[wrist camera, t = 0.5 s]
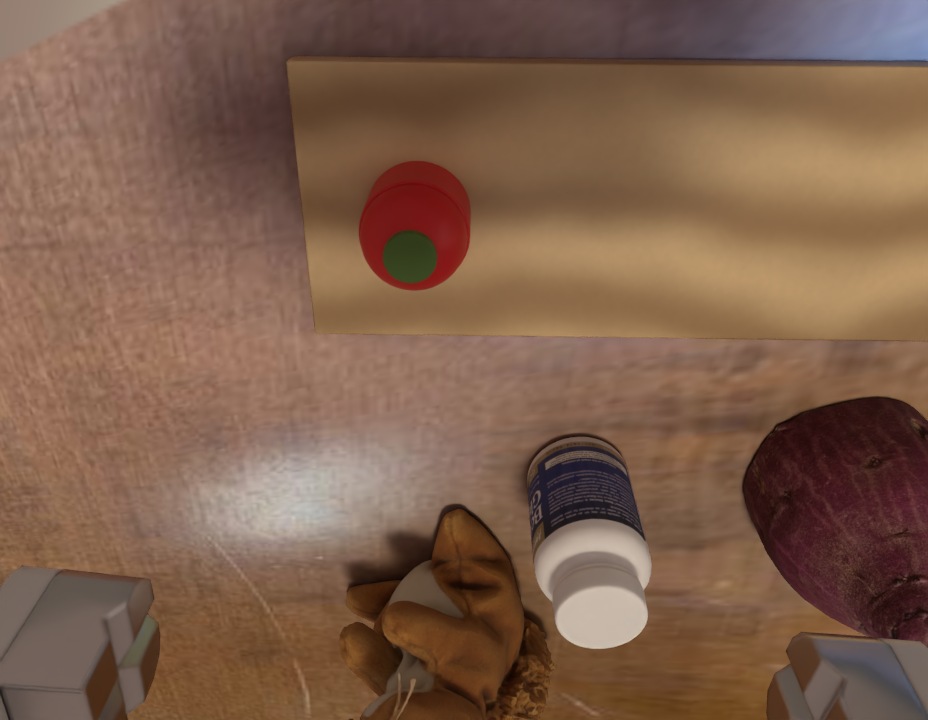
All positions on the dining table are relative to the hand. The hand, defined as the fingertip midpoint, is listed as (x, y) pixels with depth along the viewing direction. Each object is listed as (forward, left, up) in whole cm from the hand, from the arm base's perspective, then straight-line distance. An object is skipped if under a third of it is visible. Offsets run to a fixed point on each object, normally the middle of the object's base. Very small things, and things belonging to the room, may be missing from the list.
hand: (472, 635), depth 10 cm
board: (+3, +14, -26) cm, 29 cm away
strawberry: (+3, -2, -25) cm, 25 cm away
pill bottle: (+18, +6, -26) cm, 32 cm away
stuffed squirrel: (+28, 0, -26) cm, 38 cm away
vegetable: (+18, +20, -26) cm, 37 cm away
